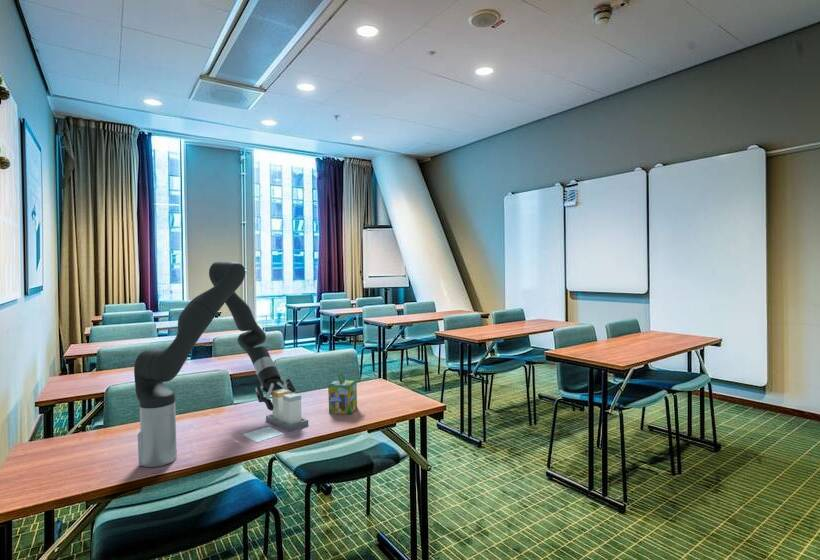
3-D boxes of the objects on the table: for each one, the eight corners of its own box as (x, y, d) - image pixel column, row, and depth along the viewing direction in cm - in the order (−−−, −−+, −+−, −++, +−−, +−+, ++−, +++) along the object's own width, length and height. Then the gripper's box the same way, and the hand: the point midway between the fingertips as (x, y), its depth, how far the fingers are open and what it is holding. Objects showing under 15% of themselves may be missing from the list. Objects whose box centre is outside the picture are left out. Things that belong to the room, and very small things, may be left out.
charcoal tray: (266, 421, 165) (265, 415, 165) (285, 416, 171) (285, 410, 171) (288, 432, 154) (288, 425, 154) (308, 426, 160) (308, 420, 160)
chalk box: (350, 415, 171) (349, 377, 170) (328, 414, 173) (327, 376, 172) (358, 407, 180) (357, 371, 179) (336, 406, 182) (336, 371, 181)
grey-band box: (283, 425, 160) (283, 395, 159) (294, 422, 163) (294, 392, 163) (290, 428, 156) (289, 397, 156) (301, 425, 160) (301, 394, 159)
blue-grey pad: (242, 435, 151) (242, 434, 151) (269, 427, 158) (269, 426, 158) (256, 443, 144) (256, 442, 144) (284, 435, 151) (284, 433, 151)
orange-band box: (272, 420, 165) (271, 391, 165) (283, 417, 168) (282, 388, 168) (278, 423, 162) (278, 393, 162) (289, 419, 165) (289, 390, 165)
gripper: (252, 368, 165) (268, 405, 157) (286, 362, 175) (303, 396, 167) (246, 380, 169) (261, 417, 161) (279, 373, 179) (295, 407, 171)
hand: (282, 406), depth 164 cm, fingers open, 8 cm apart
